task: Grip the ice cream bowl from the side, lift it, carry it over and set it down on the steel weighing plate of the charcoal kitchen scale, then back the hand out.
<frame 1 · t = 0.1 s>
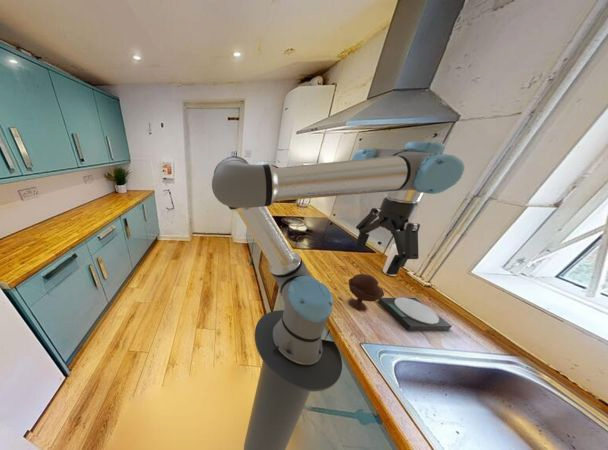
hand: (373, 260, 66), 24 cm above the counter, tool pointing down, fingers open, 13 cm apart
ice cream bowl: (357, 305, 79), on the counter
drinking glass: (388, 273, 98), on the counter
kitchen scale: (410, 315, 75), on the counter
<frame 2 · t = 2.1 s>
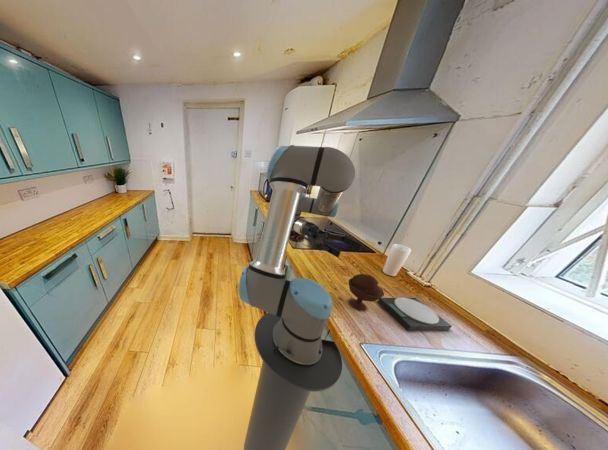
hand: (350, 250, 78), 20 cm above the counter, tool horizontal, fingers open, 13 cm apart
nothing on the counter moved.
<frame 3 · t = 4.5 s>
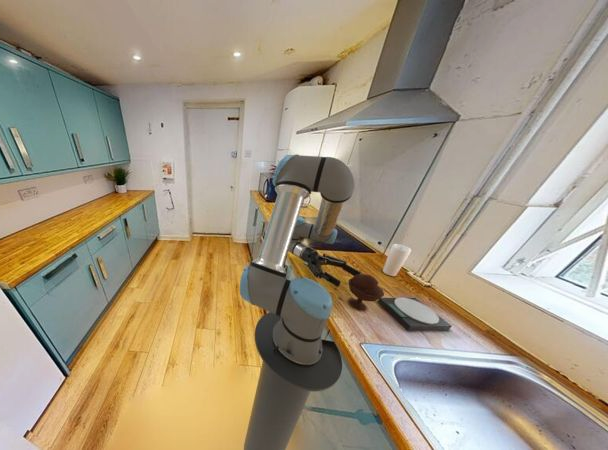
hand: (349, 279, 80), 8 cm above the counter, tool horizontal, fingers open, 13 cm apart
nothing on the counter moved.
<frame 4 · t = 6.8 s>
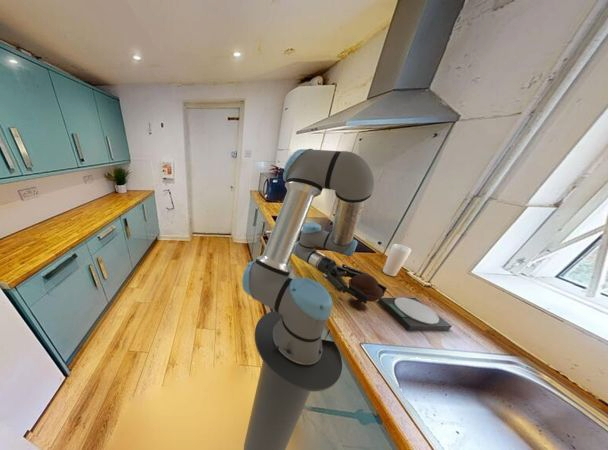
hand: (376, 295, 72), 8 cm above the counter, tool horizontal, fingers closed on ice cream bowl, 11 cm apart
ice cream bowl: (357, 305, 79), on the counter, touching gripper
everything else where it was.
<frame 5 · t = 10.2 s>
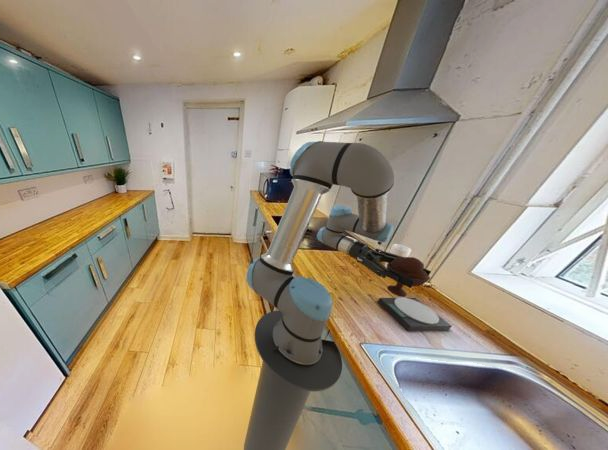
hand: (421, 279, 66), 18 cm above the counter, tool horizontal, fingers closed on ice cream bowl, 11 cm apart
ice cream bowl: (396, 291, 73), point 9 cm above the counter, touching gripper
everything else where it was.
when the fingers open (11 cm above the counter, at t = 13.7 s): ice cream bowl stays where it is, resting on kitchen scale.
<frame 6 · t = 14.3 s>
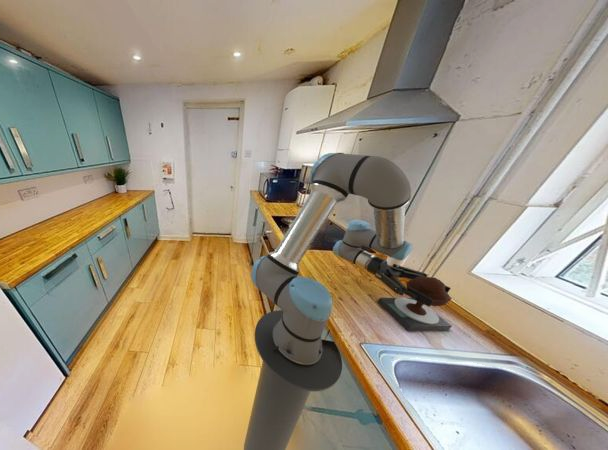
hand: (440, 297, 67), 12 cm above the counter, tool horizontal, fingers open, 13 cm apart
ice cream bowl: (415, 309, 74), point 3 cm above the counter, touching kitchen scale
everything else where it was.
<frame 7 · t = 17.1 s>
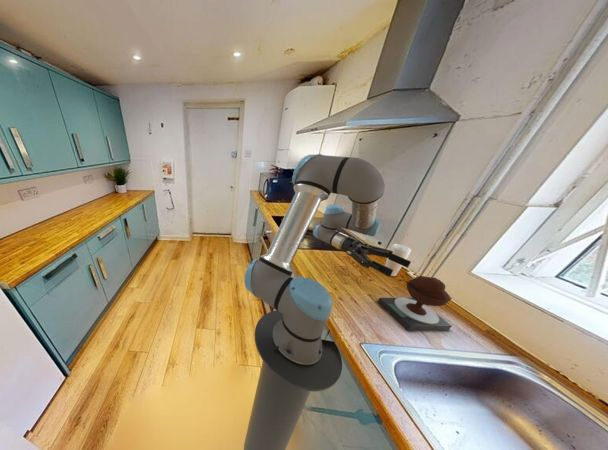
hand: (400, 268, 76), 16 cm above the counter, tool horizontal, fingers open, 13 cm apart
nothing on the counter moved.
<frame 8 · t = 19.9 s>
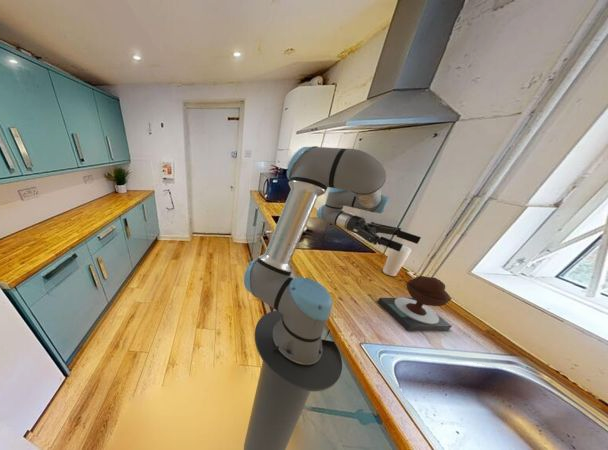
hand: (410, 244, 72), 26 cm above the counter, tool horizontal, fingers open, 13 cm apart
nothing on the counter moved.
at the end: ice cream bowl inside the target area on the kitchen scale (0.2 cm from its centre), point 2.8 cm above the kitchen scale's base; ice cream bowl tilted 0°; the gripper is holding nothing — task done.
